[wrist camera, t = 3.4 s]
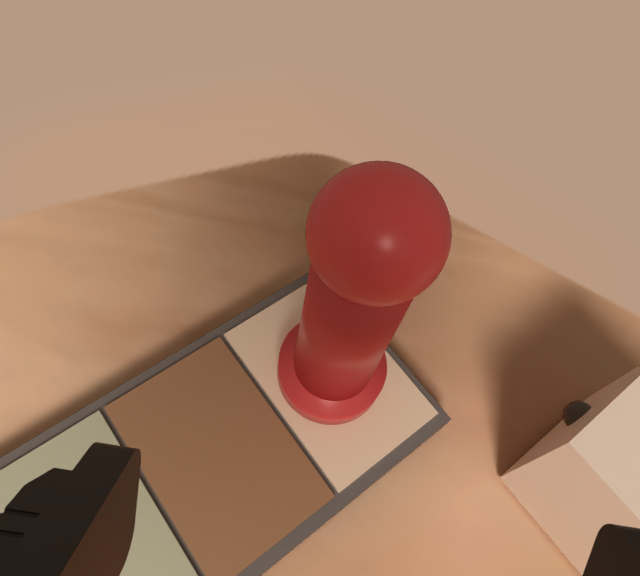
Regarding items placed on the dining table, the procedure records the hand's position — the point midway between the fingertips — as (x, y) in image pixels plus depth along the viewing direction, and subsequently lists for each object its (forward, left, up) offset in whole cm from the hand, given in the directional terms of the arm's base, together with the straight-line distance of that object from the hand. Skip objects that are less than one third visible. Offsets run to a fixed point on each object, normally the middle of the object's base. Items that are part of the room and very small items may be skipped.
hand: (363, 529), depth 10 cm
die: (-12, +5, -13) cm, 19 cm away
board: (0, -5, -13) cm, 14 cm away
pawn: (-5, -5, -12) cm, 14 cm away
